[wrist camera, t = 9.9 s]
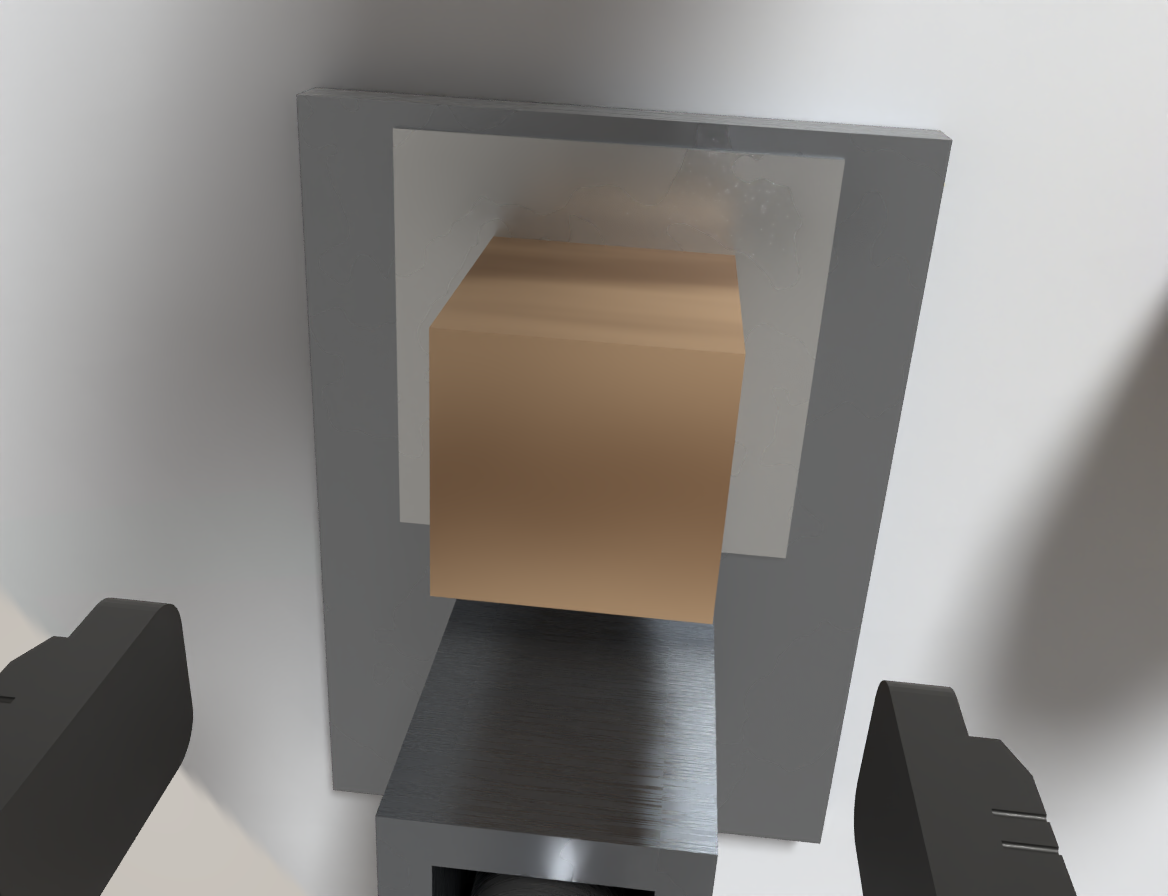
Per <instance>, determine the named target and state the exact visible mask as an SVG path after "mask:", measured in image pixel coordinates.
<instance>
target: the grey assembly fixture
mask: <svg viewBox="0 0 1168 896" xmlns="http://www.w3.org/2000/svg"><path fill="white" fill-rule="evenodd" d="M297 113H298V132H299V151H300V169H301V188H302V207H303V226H304V245H305V264H306V282H307V301H308V320H309V339H310V358H311V377H312V396H313V414H314V433H315V452H316V471H317V490H318V509H319V527H320V546H321V565H322V584H323V603H324V622H325V640H326V659H327V678H328V697H329V716H330V735H331V753H332V772H333V790H340V791H349V792H358V793H367V794H376V795H383V798H382V801H381V803H380V806H379V809H378V811H377V814H376V846H377V877H378V896H471V892H472V888H473V884H474V880H475V876H476V871H483V872H492V873H500V874H509V875H518V876H526V877H535V878H544V879H553V880H561V881H570V882H579V883H588V884H596V885H605V886H614V887H622V888H626V892H625V896H712V893H713V886H714V879H715V871H716V864H717V857H718V839H717V832H719V833H729V834H738V835H747V836H756V837H765V838H774V839H783V840H792V841H801V842H810V843H819V844H820V842H821V836H822V831H823V826H824V820H825V815H826V810H827V804H828V799H829V794H830V788H831V783H832V778H833V773H834V767H835V762H836V757H837V751H838V746H839V741H840V735H841V730H842V725H843V719H844V714H845V709H846V703H847V698H848V693H849V687H850V682H851V677H852V671H853V666H854V661H855V655H856V650H857V645H858V639H859V634H860V629H861V624H862V618H863V613H864V608H865V602H866V597H867V592H868V586H869V581H870V576H871V570H872V565H873V560H874V554H875V549H876V544H877V538H878V533H879V528H880V522H881V517H882V512H883V506H884V501H885V496H886V491H887V485H888V480H889V475H890V469H891V464H892V459H893V453H894V448H895V443H896V437H897V432H898V427H899V421H900V416H901V411H902V405H903V400H904V395H905V389H906V384H907V379H908V373H909V368H910V363H911V357H912V352H913V347H914V342H915V336H916V331H917V326H918V320H919V315H920V310H921V304H922V299H923V294H924V288H925V283H926V278H927V272H928V267H929V262H930V256H931V251H932V246H933V240H934V235H935V230H936V224H937V219H938V214H939V208H940V203H941V198H942V193H943V187H944V182H945V177H946V171H947V166H948V161H949V155H950V150H951V145H952V140H951V139H950V138H949V137H948V136H946V135H945V134H944V133H943V132H941V131H939V130H925V129H910V128H896V127H881V126H867V125H852V124H838V123H823V122H809V121H794V120H780V119H765V118H751V117H736V116H722V115H707V114H693V113H678V112H664V111H649V110H635V109H620V108H606V107H591V106H576V105H562V104H547V103H533V102H518V101H504V100H489V99H475V98H460V97H446V96H431V95H417V94H402V93H388V92H373V91H359V90H344V89H330V88H313V89H310V90H307V91H305V92H302V93H300V94H297ZM493 236H496V237H508V238H521V239H534V240H547V241H559V242H572V243H585V244H597V245H610V246H623V247H636V248H648V249H661V250H674V251H687V252H699V253H712V254H725V255H735V258H736V268H737V277H738V287H739V296H740V306H741V315H742V325H743V334H744V344H745V353H746V355H745V364H744V372H743V380H742V388H741V396H740V404H739V412H738V420H737V429H736V437H735V445H734V453H733V461H732V469H731V477H730V486H729V494H728V502H727V510H726V518H725V526H724V534H723V543H722V551H721V559H720V567H719V575H718V583H717V591H716V599H715V608H714V616H713V624H705V623H695V622H685V621H675V620H665V619H655V618H645V617H635V616H625V615H615V614H605V613H595V612H585V611H575V610H565V609H555V608H545V607H535V606H525V605H515V604H505V603H495V602H485V601H475V600H465V599H455V598H445V597H435V596H430V449H429V327H430V326H431V324H432V323H433V321H434V320H435V318H436V317H437V316H438V314H439V313H440V311H441V310H442V309H443V307H444V306H445V304H446V303H447V301H448V300H449V299H450V297H451V296H452V294H453V293H454V291H455V290H456V289H457V287H458V286H459V284H460V283H461V282H462V280H463V279H464V277H465V276H466V274H467V273H468V272H469V270H470V269H471V267H472V266H473V264H474V263H475V262H476V260H477V259H478V257H479V256H480V255H481V253H482V252H483V250H484V249H485V247H486V246H487V245H488V243H489V242H490V240H491V239H492V238H493Z"/></svg>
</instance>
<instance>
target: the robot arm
mask: <svg viewBox="0 0 1168 896" xmlns="http://www.w3.org/2000/svg"><path fill="white" fill-rule="evenodd" d="M192 723H193V707H192V699H191V692H190V684H189V676H188V669H187V661H186V653H185V646H184V638H183V631H182V623H181V618H180V614H179V612H178V610H177V608H176V607H175V606H174V605H172V604H166V603H156V602H147V601H137V600H128V599H118V598H106V599H104V600H102V601H101V602H99V603H98V604H97V605H96V607H95V608H94V609H93V610H92V611H91V612H90V613H89V615H88V616H87V617H86V618H85V619H84V620H83V621H82V623H81V624H80V625H79V626H78V627H77V628H76V629H75V631H74V632H73V633H72V634H71V635H70V636H69V637H68V638H66V637H57V636H53V637H51V638H50V639H48V640H46V641H45V642H43V643H41V644H39V645H38V646H36V647H34V648H33V649H31V650H29V651H28V652H26V653H25V654H23V655H21V656H20V657H18V658H16V659H15V660H13V661H11V662H10V663H9V664H8V665H7V666H6V667H5V668H4V669H3V671H2V672H1V673H0V896H100V895H101V893H102V892H103V890H104V888H105V887H106V885H107V884H108V882H109V880H110V879H111V877H112V876H113V874H114V872H115V871H116V869H117V867H118V866H119V864H120V863H121V861H122V859H123V857H124V856H125V854H126V853H127V851H128V849H129V848H130V846H131V845H132V843H133V841H134V840H135V838H136V836H137V835H138V833H139V832H140V830H141V828H142V827H143V825H144V823H145V822H146V820H147V819H148V817H149V816H150V814H151V812H152V811H153V809H154V807H155V806H156V804H157V802H158V801H159V799H160V798H161V796H162V794H163V793H164V791H165V790H166V788H167V786H168V785H169V783H170V781H171V780H172V778H173V777H174V775H175V773H176V772H177V770H178V768H179V767H180V765H181V763H182V761H183V759H184V757H185V754H186V751H187V748H188V745H189V741H190V737H191V731H192ZM1046 815H1047V814H1046V811H1045V809H1044V806H1043V803H1042V801H1041V798H1040V795H1039V793H1038V790H1037V787H1036V784H1035V782H1034V779H1033V776H1032V775H1031V774H1030V773H1029V771H1028V770H1027V769H1026V768H1025V767H1024V766H1023V765H1022V764H1021V762H1020V761H1019V760H1018V759H1017V758H1016V757H1015V756H1014V755H1013V754H1012V752H1011V751H1010V750H1009V749H1008V748H1007V747H1006V746H1005V745H1004V744H1003V742H1002V741H1001V740H999V739H990V738H981V737H971V736H968V732H967V729H966V726H965V723H964V720H963V716H962V713H961V710H960V707H959V703H958V700H957V697H956V695H955V692H954V691H953V689H952V688H951V687H944V686H934V685H925V684H915V683H905V682H896V681H886V680H883V681H882V682H881V683H880V685H879V687H878V690H877V693H876V697H875V702H874V706H873V711H872V716H871V721H870V725H869V730H868V735H867V740H866V744H865V749H864V754H863V759H862V763H861V768H860V773H859V778H858V782H857V788H856V795H855V807H854V835H855V845H856V852H857V859H858V865H859V871H860V878H861V884H862V891H863V896H1077V895H1076V892H1075V890H1074V887H1073V884H1072V882H1071V879H1070V876H1069V874H1068V871H1067V868H1066V865H1065V863H1064V860H1063V857H1062V855H1059V854H1058V848H1059V847H1058V844H1057V841H1056V838H1055V836H1054V833H1053V830H1052V828H1051V825H1050V822H1047V821H1046Z"/></svg>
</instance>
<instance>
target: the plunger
mask: <svg viewBox="0 0 1168 896" xmlns="http://www.w3.org/2000/svg"><path fill="white" fill-rule="evenodd" d="M625 892H626V888H622V887H614V886H605V885H596V884H588V883H579V882H570V881H561V880H553V879H544V878H535V877H526V876H518V875H509V874H500V873H492V872H483V871H476V876H475V880H474V884H473V888H472V892H471V896H625Z"/></svg>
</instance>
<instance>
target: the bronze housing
mask: <svg viewBox="0 0 1168 896" xmlns="http://www.w3.org/2000/svg"><path fill="white" fill-rule="evenodd" d="M745 355H746V353H745V344H744V334H743V325H742V315H741V306H740V296H739V287H738V277H737V268H736V258H735V255H725V254H712V253H699V252H687V251H674V250H661V249H648V248H636V247H623V246H610V245H597V244H585V243H572V242H559V241H547V240H534V239H521V238H508V237H496V236H493V238H492V239H491V240H490V242H489V243H488V245H487V246H486V247H485V249H484V250H483V252H482V253H481V255H480V256H479V257H478V259H477V260H476V262H475V263H474V264H473V266H472V267H471V269H470V270H469V272H468V273H467V274H466V276H465V277H464V279H463V280H462V282H461V283H460V284H459V286H458V287H457V289H456V290H455V291H454V293H453V294H452V296H451V297H450V299H449V300H448V301H447V303H446V304H445V306H444V307H443V309H442V310H441V311H440V313H439V314H438V316H437V317H436V318H435V320H434V321H433V323H432V324H431V326H430V327H429V449H430V596H435V597H445V598H455V599H465V600H475V601H485V602H495V603H505V604H515V605H525V606H535V607H545V608H555V609H565V610H575V611H585V612H595V613H605V614H615V615H625V616H635V617H645V618H655V619H665V620H675V621H685V622H695V623H705V624H713V616H714V608H715V599H716V591H717V583H718V575H719V567H720V559H721V551H722V543H723V534H724V526H725V518H726V510H727V502H728V494H729V486H730V477H731V469H732V461H733V453H734V445H735V437H736V429H737V420H738V412H739V404H740V396H741V388H742V380H743V372H744V364H745Z"/></svg>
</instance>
